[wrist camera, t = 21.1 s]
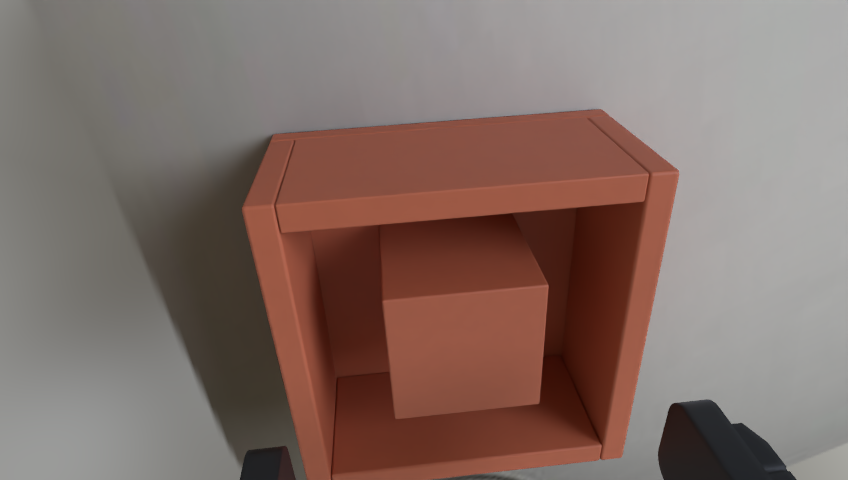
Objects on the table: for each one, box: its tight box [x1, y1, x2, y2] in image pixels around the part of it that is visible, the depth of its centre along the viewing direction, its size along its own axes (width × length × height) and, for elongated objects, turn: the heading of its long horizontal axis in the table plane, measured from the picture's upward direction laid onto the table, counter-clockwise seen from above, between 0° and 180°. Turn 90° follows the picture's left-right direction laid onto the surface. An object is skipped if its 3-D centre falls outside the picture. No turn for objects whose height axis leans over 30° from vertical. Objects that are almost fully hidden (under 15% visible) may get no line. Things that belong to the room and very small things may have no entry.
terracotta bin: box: [242, 109, 679, 480], centre depth 16 cm, size 9×9×5 cm
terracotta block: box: [378, 213, 549, 419], centre depth 16 cm, size 4×4×4 cm
